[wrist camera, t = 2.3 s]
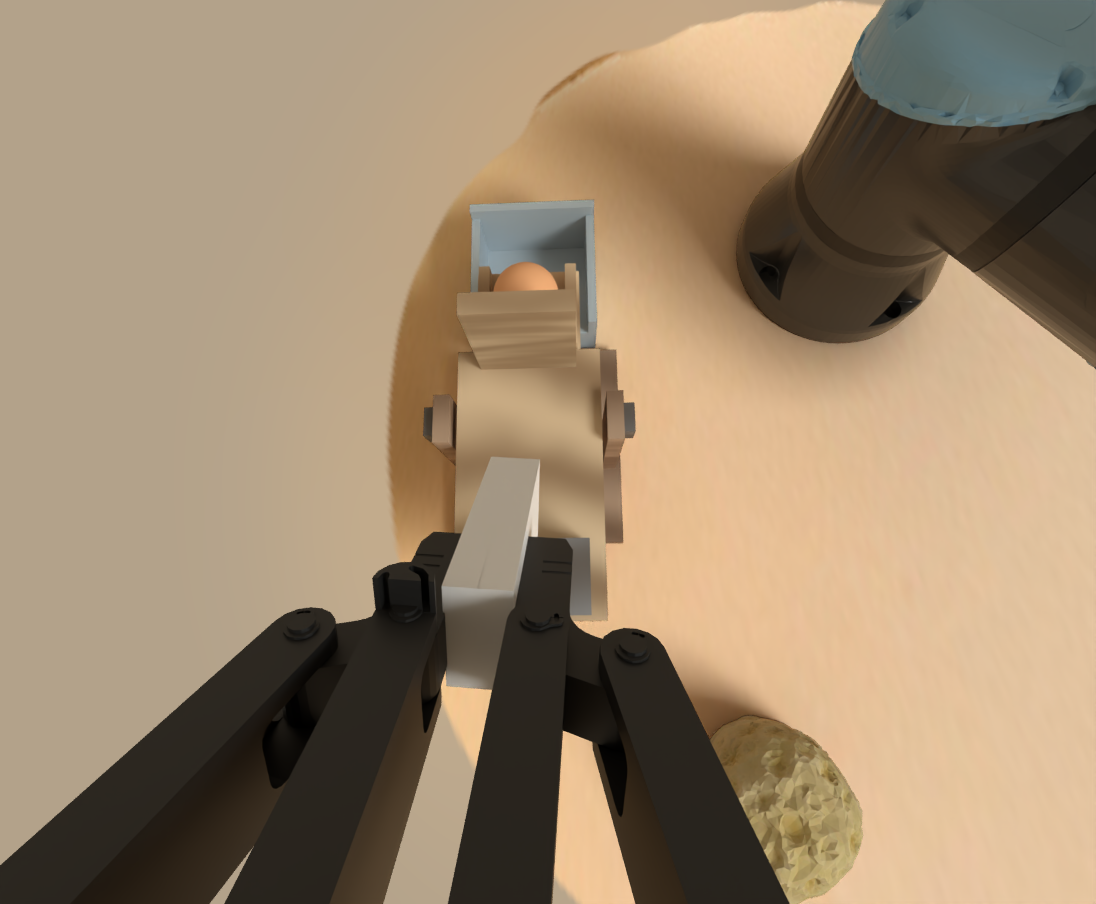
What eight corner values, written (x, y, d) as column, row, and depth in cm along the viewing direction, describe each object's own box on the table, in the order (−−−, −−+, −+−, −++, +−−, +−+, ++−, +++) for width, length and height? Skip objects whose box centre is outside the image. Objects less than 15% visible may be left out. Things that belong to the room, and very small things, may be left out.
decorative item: (701, 710, 46) (641, 781, 38) (825, 680, 40) (786, 754, 32) (761, 838, 44) (711, 940, 36) (899, 823, 38) (878, 940, 30)
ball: (510, 274, 39) (502, 240, 36) (568, 292, 39) (566, 259, 35) (488, 328, 39) (478, 300, 35) (547, 347, 38) (544, 320, 34)
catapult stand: (626, 542, 45) (640, 531, 35) (453, 545, 45) (417, 534, 35) (619, 353, 48) (630, 291, 38) (457, 357, 49) (425, 297, 38)
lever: (606, 619, 36) (616, 632, 27) (456, 620, 36) (416, 633, 27) (596, 279, 40) (601, 192, 31) (463, 283, 41) (431, 199, 32)
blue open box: (595, 348, 48) (597, 315, 42) (480, 351, 49) (467, 319, 43) (592, 244, 50) (593, 199, 44) (482, 248, 51) (469, 204, 45)
